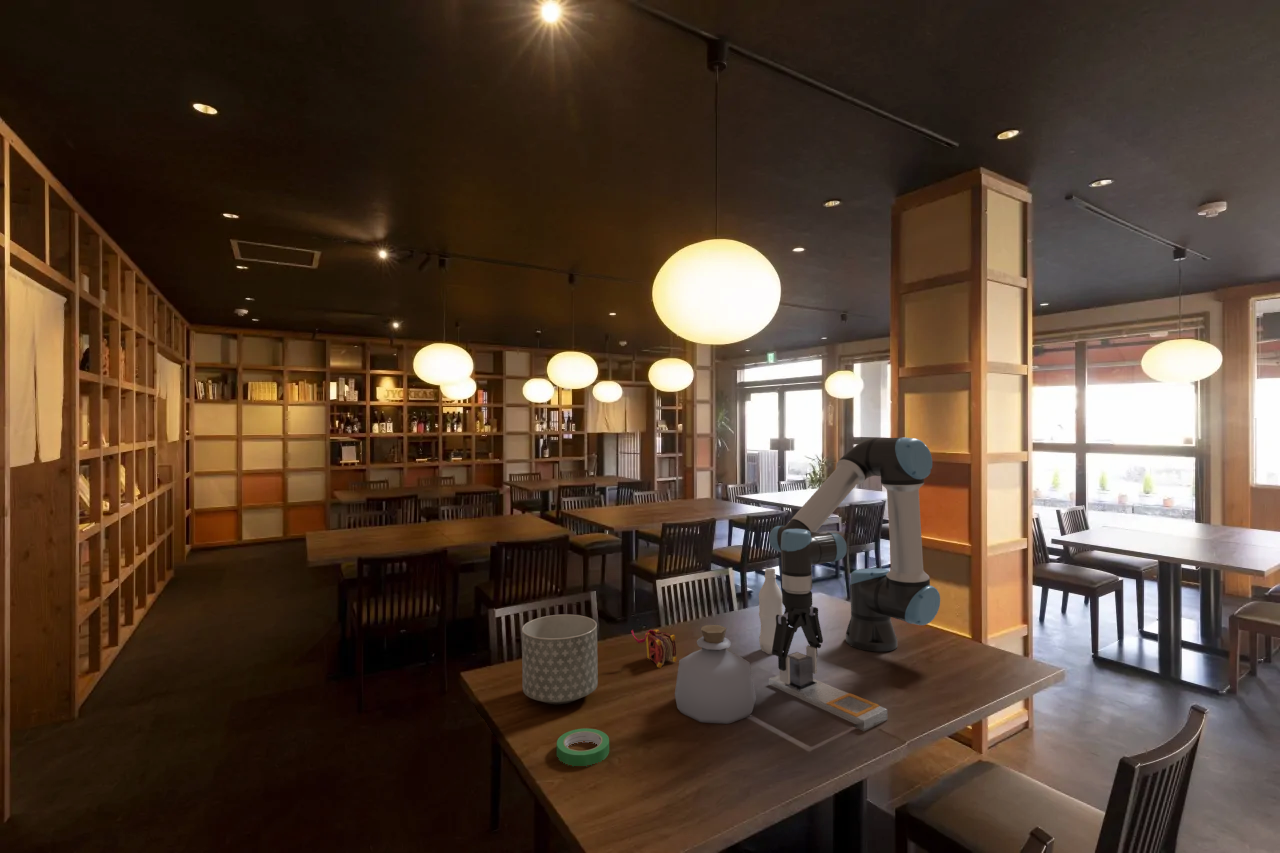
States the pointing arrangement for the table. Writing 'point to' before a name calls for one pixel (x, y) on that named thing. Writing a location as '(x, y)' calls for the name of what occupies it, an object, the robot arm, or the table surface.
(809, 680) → the grey tall square block
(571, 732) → the tape roll
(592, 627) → the planter
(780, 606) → the water bottle
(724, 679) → the bottle
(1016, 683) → the table surface
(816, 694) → the rail
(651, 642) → the book monster
